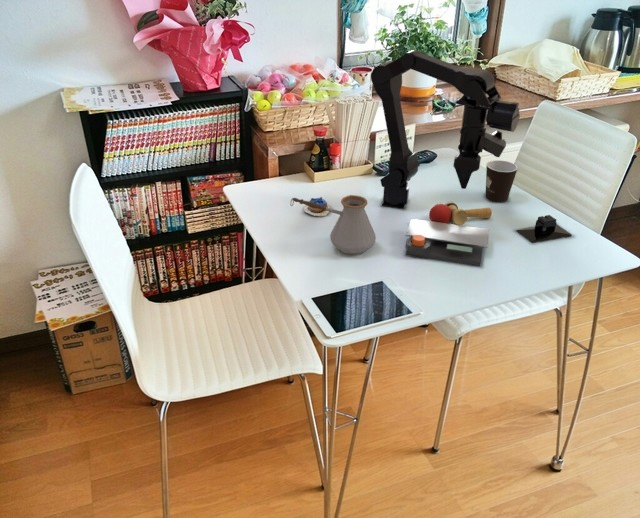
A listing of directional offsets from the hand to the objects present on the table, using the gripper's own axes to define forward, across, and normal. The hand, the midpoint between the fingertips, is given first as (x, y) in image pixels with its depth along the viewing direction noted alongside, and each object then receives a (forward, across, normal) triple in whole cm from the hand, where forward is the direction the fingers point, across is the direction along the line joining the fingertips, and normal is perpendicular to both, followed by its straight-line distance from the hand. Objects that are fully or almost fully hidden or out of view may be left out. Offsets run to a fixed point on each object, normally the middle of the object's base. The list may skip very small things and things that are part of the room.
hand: (465, 181), depth 156 cm
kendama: (+12, 0, 0) cm, 12 cm away
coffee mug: (+12, +20, -9) cm, 25 cm away
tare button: (+9, -20, +9) cm, 24 cm away
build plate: (+12, 0, -22) cm, 25 cm away
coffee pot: (+12, -24, +29) cm, 40 cm away
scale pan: (+9, -13, +2) cm, 16 cm away
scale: (+12, -15, +2) cm, 19 cm away
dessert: (+12, -5, +39) cm, 41 cm away
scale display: (+9, -20, -2) cm, 22 cm away
